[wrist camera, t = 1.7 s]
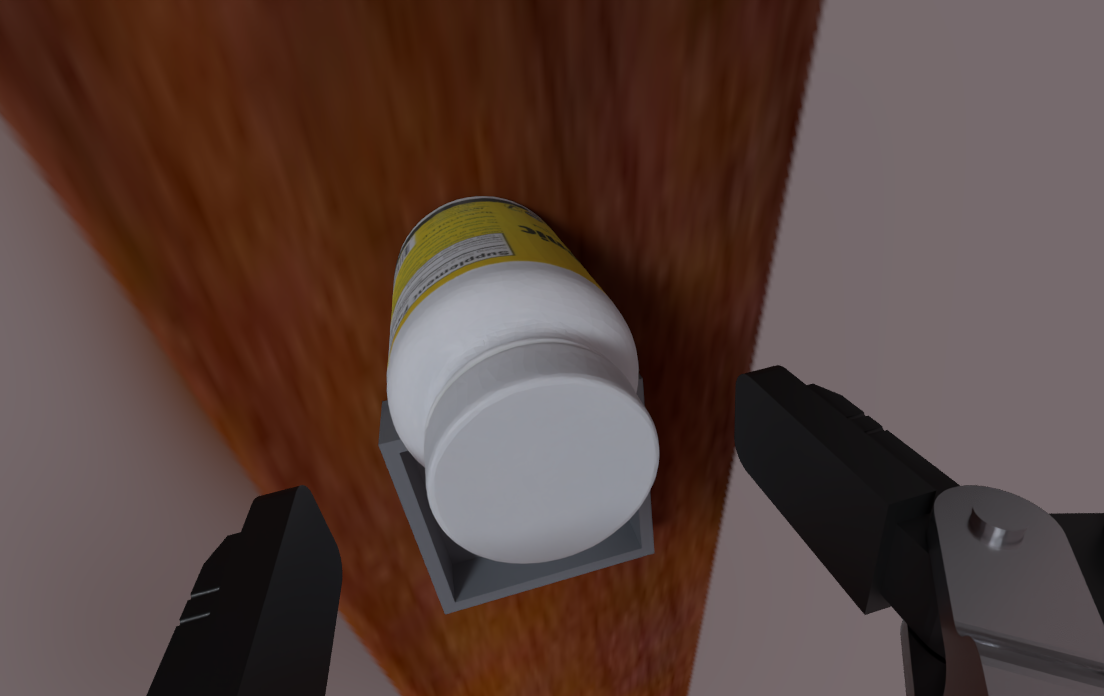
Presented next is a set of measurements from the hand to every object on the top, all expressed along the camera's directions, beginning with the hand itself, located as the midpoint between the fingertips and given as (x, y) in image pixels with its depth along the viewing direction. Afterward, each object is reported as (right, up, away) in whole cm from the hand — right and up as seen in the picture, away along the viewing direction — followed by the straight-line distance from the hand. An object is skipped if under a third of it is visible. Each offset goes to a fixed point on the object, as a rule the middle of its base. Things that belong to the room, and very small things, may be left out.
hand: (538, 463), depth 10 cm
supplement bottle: (-2, +5, +7) cm, 9 cm away
